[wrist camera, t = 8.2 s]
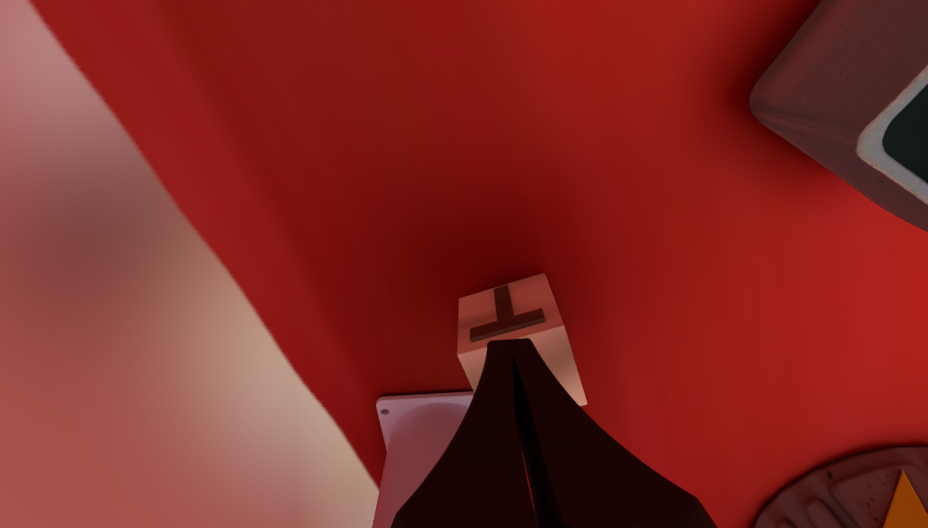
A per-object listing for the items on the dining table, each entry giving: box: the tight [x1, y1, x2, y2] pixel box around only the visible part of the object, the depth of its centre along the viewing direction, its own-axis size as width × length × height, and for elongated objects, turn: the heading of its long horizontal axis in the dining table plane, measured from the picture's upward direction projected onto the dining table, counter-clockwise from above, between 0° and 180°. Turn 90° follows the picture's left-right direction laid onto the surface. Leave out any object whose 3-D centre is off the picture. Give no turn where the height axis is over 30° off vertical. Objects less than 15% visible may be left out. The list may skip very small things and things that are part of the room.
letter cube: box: [457, 273, 587, 406], centre depth 21 cm, size 5×5×5 cm
